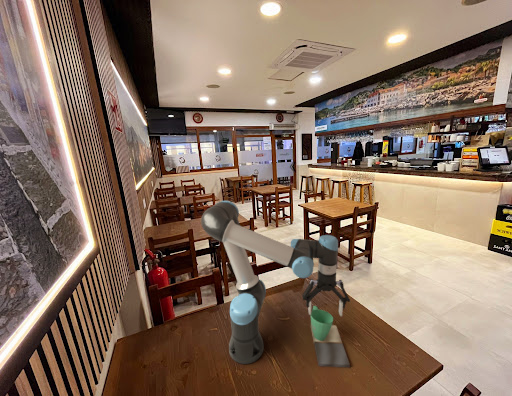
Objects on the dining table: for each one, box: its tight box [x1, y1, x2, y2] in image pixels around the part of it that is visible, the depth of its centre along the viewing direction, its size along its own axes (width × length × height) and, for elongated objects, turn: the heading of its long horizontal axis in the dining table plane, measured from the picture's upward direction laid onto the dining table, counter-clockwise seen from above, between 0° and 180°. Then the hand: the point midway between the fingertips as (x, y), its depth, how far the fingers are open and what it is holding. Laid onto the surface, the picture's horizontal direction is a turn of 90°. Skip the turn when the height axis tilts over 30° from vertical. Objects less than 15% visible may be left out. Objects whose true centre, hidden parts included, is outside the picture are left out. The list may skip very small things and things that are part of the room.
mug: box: [310, 305, 334, 341], centre depth 102 cm, size 15×10×10 cm
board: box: [310, 324, 351, 368], centre depth 97 cm, size 12×20×2 cm, turn 175°
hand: (324, 313), depth 100 cm, fingers open, 13 cm apart
